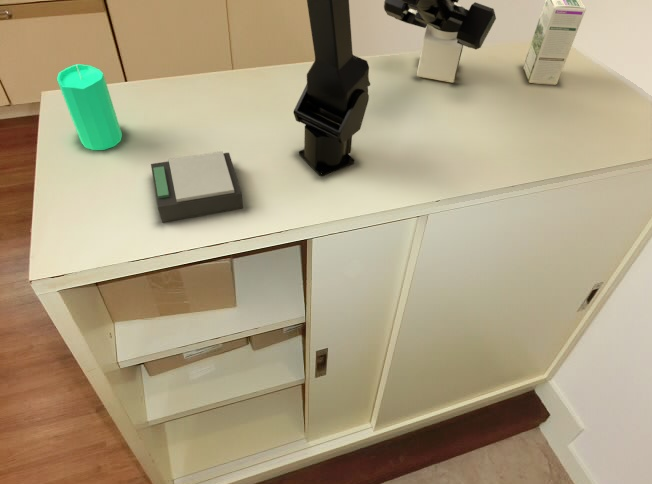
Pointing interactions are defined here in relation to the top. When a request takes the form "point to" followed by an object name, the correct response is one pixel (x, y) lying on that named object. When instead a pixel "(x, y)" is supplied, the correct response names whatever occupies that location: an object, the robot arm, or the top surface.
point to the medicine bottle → (440, 52)
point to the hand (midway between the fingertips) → (447, 33)
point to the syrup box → (553, 40)
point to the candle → (90, 106)
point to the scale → (196, 186)
